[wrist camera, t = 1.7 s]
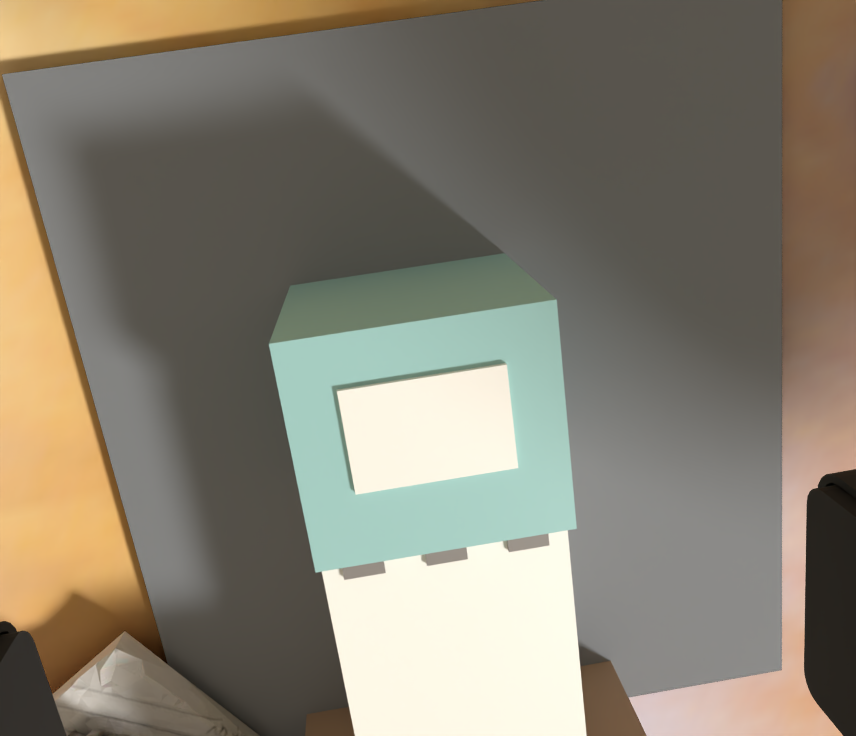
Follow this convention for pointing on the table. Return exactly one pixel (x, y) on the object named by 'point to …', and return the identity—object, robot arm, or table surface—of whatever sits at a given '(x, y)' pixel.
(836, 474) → the robot arm
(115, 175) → the mat
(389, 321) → the teal cube
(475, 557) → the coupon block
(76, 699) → the packaged product
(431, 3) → the table surface
